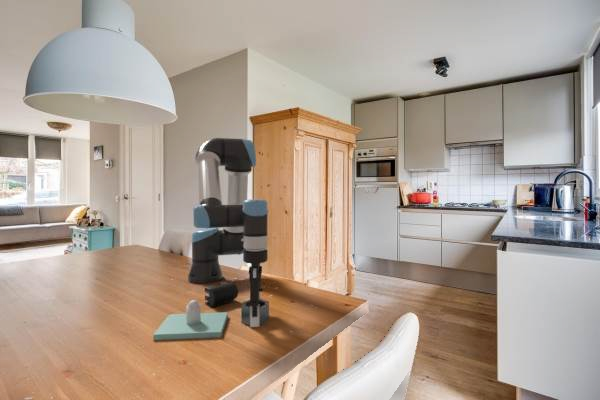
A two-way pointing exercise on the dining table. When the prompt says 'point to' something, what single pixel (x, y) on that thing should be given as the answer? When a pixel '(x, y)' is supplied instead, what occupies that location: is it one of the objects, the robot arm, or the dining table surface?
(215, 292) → the end cap
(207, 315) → the post stand
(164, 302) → the dining table surface
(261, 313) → the collar
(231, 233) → the robot arm
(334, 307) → the dining table surface
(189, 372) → the dining table surface
